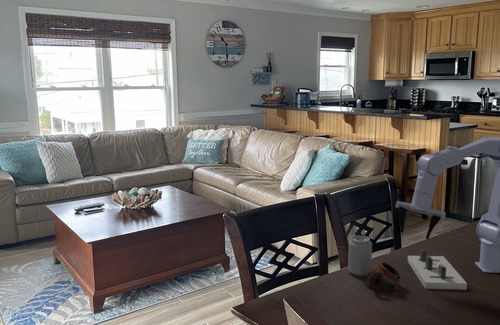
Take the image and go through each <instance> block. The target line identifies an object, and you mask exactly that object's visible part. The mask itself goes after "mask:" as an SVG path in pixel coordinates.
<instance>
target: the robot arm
mask: <svg viewBox="0 0 500 325" xmlns="http://www.w3.org/2000/svg"><path fill="white" fill-rule="evenodd" d="M482 153H483V155H485V156H486V157H488V158H489V159H491V160H492V161H493V162H494V163H495V165H496V166H497V168H496V169H497V170H496V174H495V177H494V183H493V187H492V192H491V197H490V200H489V205H488V210H487V212H486V213H484V214H483V215H481V217H480V220H479V221H478V223H477V226H476V230H475V231H476V235H477V236H478V237H479V241H480V253H479V254H480V255H479V261H475V262H474V264H475V265H476V266H477V267H478V268H479V269H480V270H481V271H482V272H483V273H500V136H493V135H486V136H485V137H480V138H479V139H478V140H475V141H473V142H471V143H468V144H466V145H463V146H461V147H459V148H458V147H456V146H452V145H448V146H446V147H445V149H441V150H440V151H438V150H436V151H433V153H432V154H423V155H421V156H420V157H419V158H418V160H417V161H416V162H415V165H416V169H417V174H416V175H417V177H416V183H415V187H414V192H413V196H412V200H411V203H410V202H404V201H399V200H397V201H396V203H395V208H397V213H398V217H399V223H400V233H403V232H404V230H405V227H406V226H405V225H406V219H407V215H408V212H409V211H410V212H415V213H417V214H418V213H419V214H423V215H426V216H430V220H429V226H428V230H427V233H426V236H425V239H426V240H429V239H430V235H431V234H432V232H433V230H434V228H435V227H436V226H437V224H438V223H439V222H440V221H441V220H445V218H446V213H447V212H445V211H442V210H438V209H435V208H432V204H433V199H434V195H435V191H436V187H437V183H438V178H439V175H441V174H443V173H444V171H445V170H446V169H449V168H452V167H454V166H457V165H460V164H461V163H462V162H463V160H464V159H467V158H470V157H473V156H477V155H480V154H482Z"/></svg>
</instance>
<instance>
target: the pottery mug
mask: <svg viewBox="0 0 500 325" xmlns="http://www.w3.org/2000/svg"><path fill="white" fill-rule="evenodd" d="M384 278H385V279H388V280H389V281H392V282H394V287H393V290H394V291H397V290H398V287H399V286H400V279H401V278H402V276H401V274H400V272H399V271H398V270H396V269H395V268H394V267H393V266H392V265H390V264H388V263H386V262H383V261H381V262H380V263H379V264H377V265H373V266H371V269H370V271H369V273H368V275H366V279H365V281H364V284H365V286H366V287H367V288H368V289H370V287H371V288H372V289H376V290H377V289H378V288H379V285H380V284H381V283H382V281H383V279H384Z"/></svg>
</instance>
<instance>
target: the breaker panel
mask: <svg viewBox="0 0 500 325" xmlns="http://www.w3.org/2000/svg"><path fill="white" fill-rule="evenodd" d="M407 262H408V264H409V266H410V267H411V268H412V270H413V272H414V274H415V275H416V277H417V278H418V279H419V281H420V283H421V284H422V286H423V287H424V289H425V290H426V289H427V290H428V289H430V290H433V289H434V290H459V291H461V290H463V291H464V290H466V291H467V289H468V283H467V282H466V280H465V279H464V278H463V277H462V275H461V274H460V273H459V272H458V271H457V270H456V269H455V268H454V267H453V265H452V264H451V263H450V262H449V261H448V260H447V258H445V256H442V255H440V256H439V255H437V256H436V255H427V250H426V249H425V248H419V255H407ZM440 264H443V265H444V266H445V267H446V278H441V277H440V276H439V275H438V270H439V265H440Z"/></svg>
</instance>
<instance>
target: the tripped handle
mask: <svg viewBox="0 0 500 325" xmlns="http://www.w3.org/2000/svg"><path fill="white" fill-rule="evenodd" d="M438 275H439V276H440V277H441V278H446V267H445V266H444V265H443V264H440V265H439V270H438Z"/></svg>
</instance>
